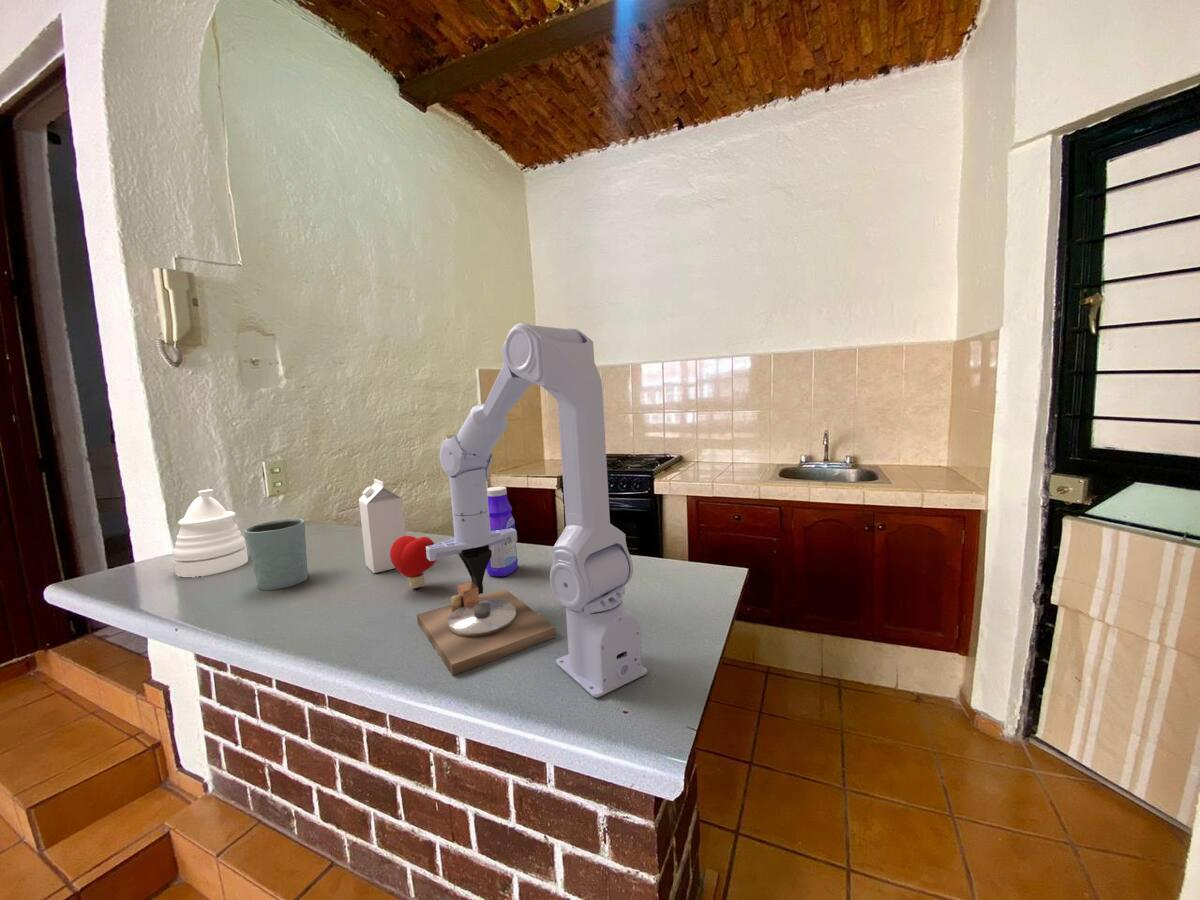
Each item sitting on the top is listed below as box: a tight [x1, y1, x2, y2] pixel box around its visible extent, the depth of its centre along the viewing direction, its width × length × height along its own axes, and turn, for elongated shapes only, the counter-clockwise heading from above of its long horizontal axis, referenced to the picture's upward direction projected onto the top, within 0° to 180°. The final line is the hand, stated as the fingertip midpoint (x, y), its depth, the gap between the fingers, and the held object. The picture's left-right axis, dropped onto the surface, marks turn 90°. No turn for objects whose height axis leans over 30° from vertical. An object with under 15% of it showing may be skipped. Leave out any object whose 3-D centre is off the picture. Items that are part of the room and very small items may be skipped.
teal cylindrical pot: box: [244, 518, 309, 591], centre depth 95 cm, size 10×10×12 cm
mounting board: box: [416, 588, 557, 677], centre depth 71 cm, size 18×15×4 cm
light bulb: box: [390, 535, 437, 590], centre depth 88 cm, size 9×7×10 cm
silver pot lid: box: [448, 581, 516, 637], centre depth 72 cm, size 12×10×3 cm
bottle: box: [485, 485, 519, 578], centre depth 94 cm, size 7×6×17 cm
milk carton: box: [358, 478, 407, 574], centre depth 101 cm, size 7×7×19 cm
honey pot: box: [172, 488, 249, 578], centre depth 106 cm, size 13×13×18 cm
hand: (477, 592), depth 77 cm, fingers closed
